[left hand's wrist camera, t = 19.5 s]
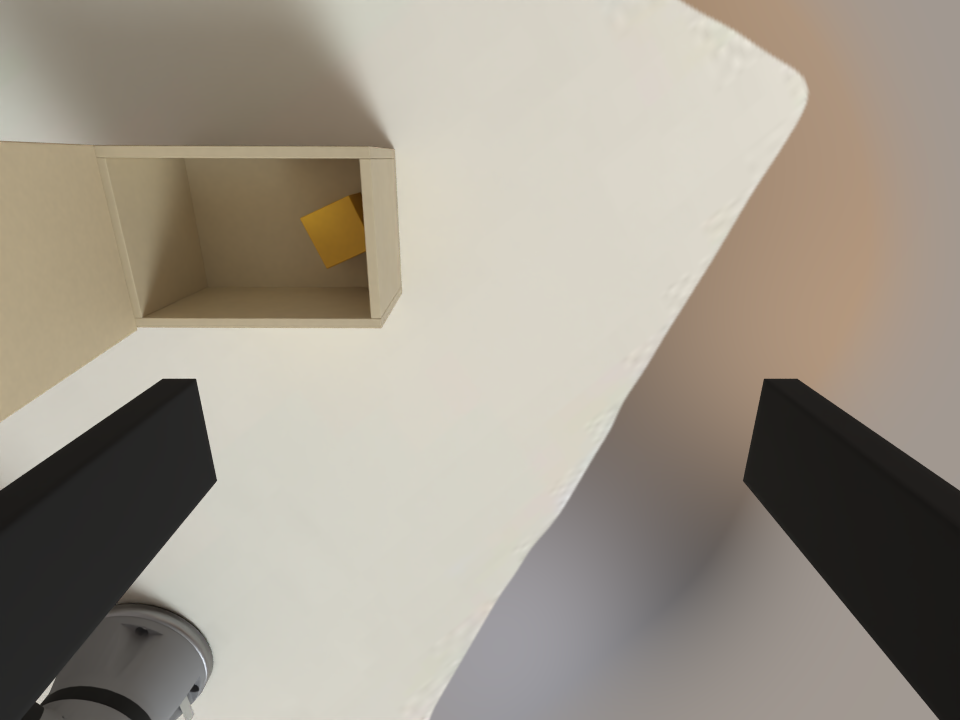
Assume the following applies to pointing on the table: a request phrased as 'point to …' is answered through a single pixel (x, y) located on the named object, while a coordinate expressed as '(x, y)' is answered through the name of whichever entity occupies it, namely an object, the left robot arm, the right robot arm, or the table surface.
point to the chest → (250, 234)
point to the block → (337, 230)
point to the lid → (55, 269)
